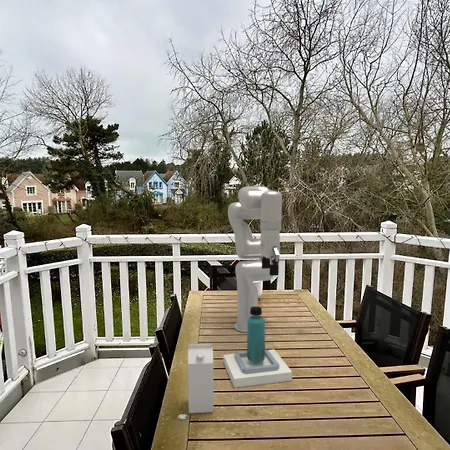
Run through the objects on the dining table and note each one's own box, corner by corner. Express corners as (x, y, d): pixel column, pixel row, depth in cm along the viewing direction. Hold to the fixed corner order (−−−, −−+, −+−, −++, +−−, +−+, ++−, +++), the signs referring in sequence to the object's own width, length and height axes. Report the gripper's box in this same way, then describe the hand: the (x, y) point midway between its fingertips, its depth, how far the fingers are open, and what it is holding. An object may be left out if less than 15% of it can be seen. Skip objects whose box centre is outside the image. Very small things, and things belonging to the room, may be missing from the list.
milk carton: (189, 399, 106) (188, 339, 105) (212, 398, 107) (212, 338, 105) (188, 414, 99) (187, 350, 97) (213, 412, 100) (213, 349, 98)
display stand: (223, 362, 129) (223, 350, 129) (274, 357, 133) (274, 345, 133) (234, 387, 112) (234, 374, 112) (292, 380, 117) (292, 367, 116)
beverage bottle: (264, 367, 119) (265, 311, 117) (245, 365, 121) (245, 310, 119) (265, 358, 126) (266, 305, 124) (247, 357, 127) (248, 304, 125)
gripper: (254, 223, 133) (253, 266, 136) (268, 229, 117) (266, 278, 119) (273, 222, 135) (272, 265, 137) (289, 228, 118) (287, 277, 120)
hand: (269, 271), depth 128 cm, fingers open, 9 cm apart
